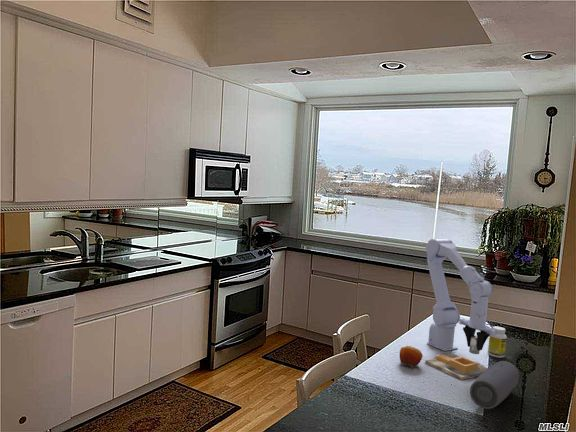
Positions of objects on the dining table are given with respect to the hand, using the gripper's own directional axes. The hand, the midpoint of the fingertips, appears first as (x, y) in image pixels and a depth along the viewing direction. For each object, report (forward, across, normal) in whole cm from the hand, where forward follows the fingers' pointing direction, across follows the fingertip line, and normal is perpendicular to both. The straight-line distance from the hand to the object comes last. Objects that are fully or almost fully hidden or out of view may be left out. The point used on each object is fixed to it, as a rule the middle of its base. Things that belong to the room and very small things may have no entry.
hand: (474, 348), depth 180 cm
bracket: (+4, +2, -13) cm, 14 cm away
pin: (+2, 0, 0) cm, 2 cm away
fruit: (+5, -7, -27) cm, 28 cm away
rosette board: (+5, +2, -12) cm, 13 cm away
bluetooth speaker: (+5, +24, -23) cm, 34 cm away
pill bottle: (+5, 0, +14) cm, 15 cm away
